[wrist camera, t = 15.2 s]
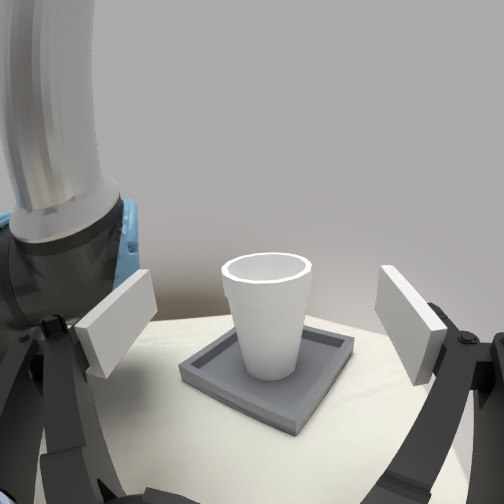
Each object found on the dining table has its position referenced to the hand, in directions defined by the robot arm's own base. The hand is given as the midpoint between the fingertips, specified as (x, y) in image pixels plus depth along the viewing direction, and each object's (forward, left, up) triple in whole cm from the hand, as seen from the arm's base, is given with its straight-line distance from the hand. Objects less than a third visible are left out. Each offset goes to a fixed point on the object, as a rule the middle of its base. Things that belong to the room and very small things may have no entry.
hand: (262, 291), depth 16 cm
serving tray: (-8, +12, -17) cm, 23 cm away
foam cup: (-8, +12, -17) cm, 22 cm away
